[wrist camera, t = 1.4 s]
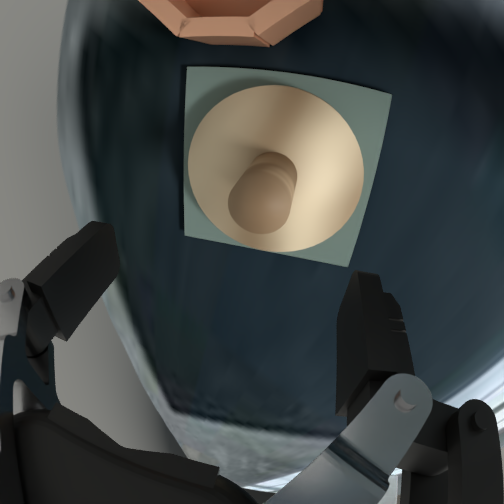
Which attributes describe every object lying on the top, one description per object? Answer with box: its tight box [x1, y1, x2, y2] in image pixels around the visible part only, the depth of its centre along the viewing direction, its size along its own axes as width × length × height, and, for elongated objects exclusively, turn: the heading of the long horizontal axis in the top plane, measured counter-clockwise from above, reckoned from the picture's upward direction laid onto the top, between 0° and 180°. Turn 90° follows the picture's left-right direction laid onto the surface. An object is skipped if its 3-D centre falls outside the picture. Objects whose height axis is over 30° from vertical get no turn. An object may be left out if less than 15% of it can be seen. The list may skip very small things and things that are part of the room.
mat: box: [184, 67, 392, 267], centre depth 18 cm, size 12×12×1 cm
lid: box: [188, 85, 364, 252], centre depth 15 cm, size 10×10×6 cm
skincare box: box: [378, 475, 398, 504], centre depth 44 cm, size 6×4×12 cm
